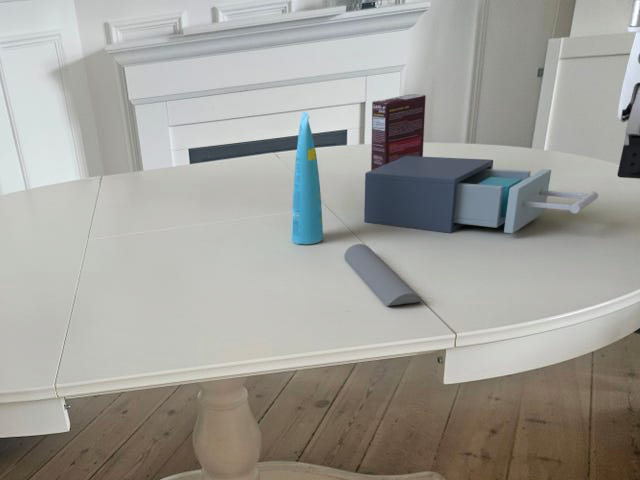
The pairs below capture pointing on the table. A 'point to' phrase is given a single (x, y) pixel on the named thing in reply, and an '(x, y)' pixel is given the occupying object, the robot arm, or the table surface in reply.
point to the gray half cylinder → (380, 276)
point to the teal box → (507, 185)
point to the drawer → (510, 199)
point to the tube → (306, 190)
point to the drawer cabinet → (418, 191)
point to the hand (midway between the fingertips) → (633, 176)
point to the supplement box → (397, 128)
